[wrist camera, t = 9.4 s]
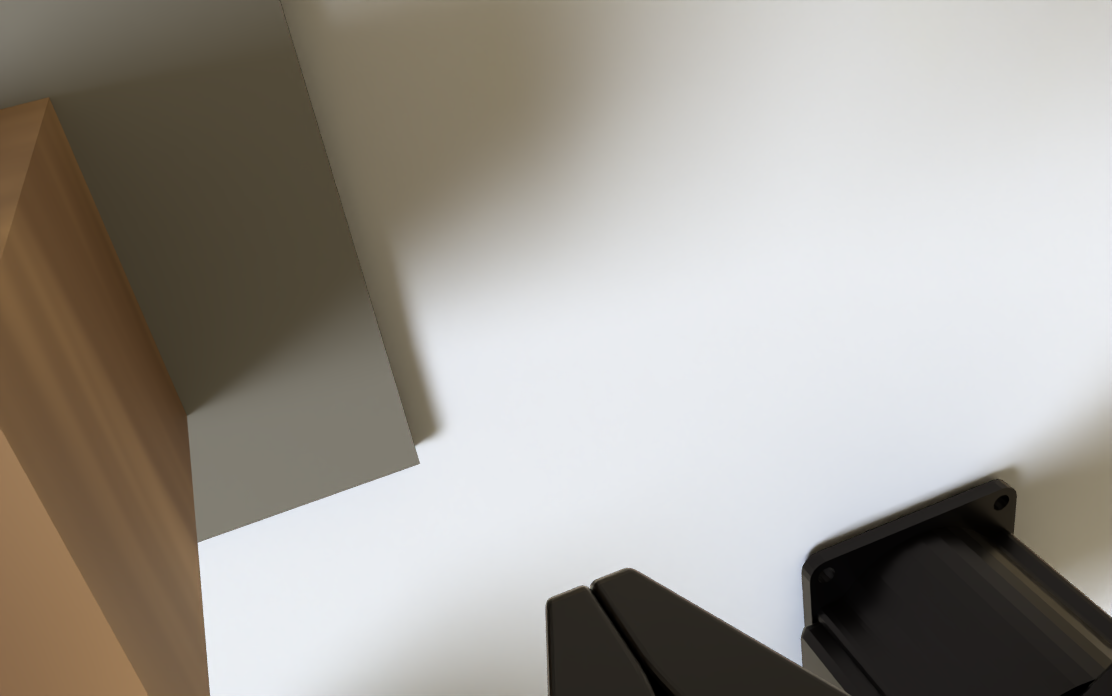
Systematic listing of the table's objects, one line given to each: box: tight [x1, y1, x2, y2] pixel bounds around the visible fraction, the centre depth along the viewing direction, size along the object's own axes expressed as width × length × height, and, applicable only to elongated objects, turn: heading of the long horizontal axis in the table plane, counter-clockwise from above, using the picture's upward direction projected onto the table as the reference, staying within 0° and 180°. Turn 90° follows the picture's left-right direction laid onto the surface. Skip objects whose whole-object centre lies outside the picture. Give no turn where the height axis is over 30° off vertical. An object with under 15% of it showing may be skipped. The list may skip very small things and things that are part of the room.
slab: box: [0, 97, 210, 696], centre depth 13 cm, size 2×6×9 cm, turn 10°
